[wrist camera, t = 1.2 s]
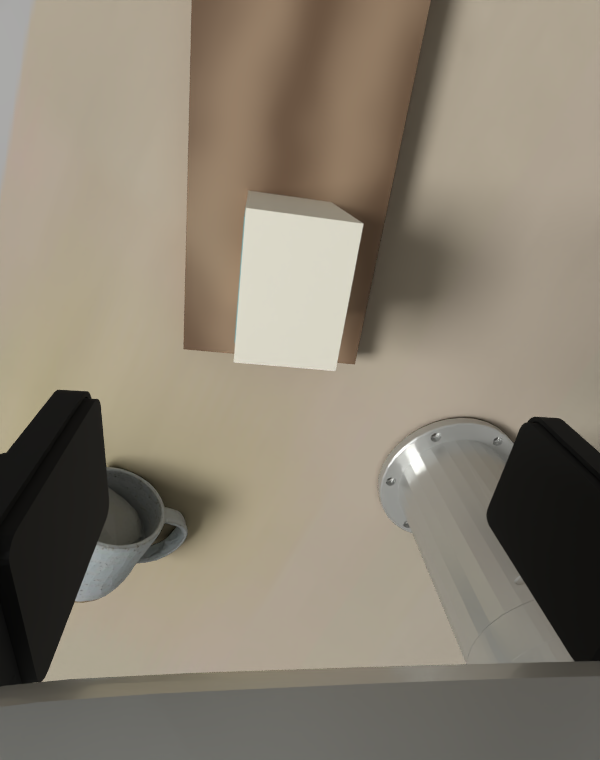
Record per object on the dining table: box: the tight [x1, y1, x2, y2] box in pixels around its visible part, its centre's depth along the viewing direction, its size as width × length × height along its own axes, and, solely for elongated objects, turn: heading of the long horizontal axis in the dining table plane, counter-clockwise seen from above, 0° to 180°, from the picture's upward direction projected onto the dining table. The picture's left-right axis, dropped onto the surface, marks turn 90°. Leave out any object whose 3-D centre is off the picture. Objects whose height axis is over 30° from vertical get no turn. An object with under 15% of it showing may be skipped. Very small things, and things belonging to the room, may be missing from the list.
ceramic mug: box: [75, 467, 188, 603], centre depth 36 cm, size 11×8×8 cm
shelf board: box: [184, 0, 431, 364], centre depth 26 cm, size 12×24×4 cm, turn 172°
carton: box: [234, 191, 363, 371], centre depth 24 cm, size 5×7×9 cm
